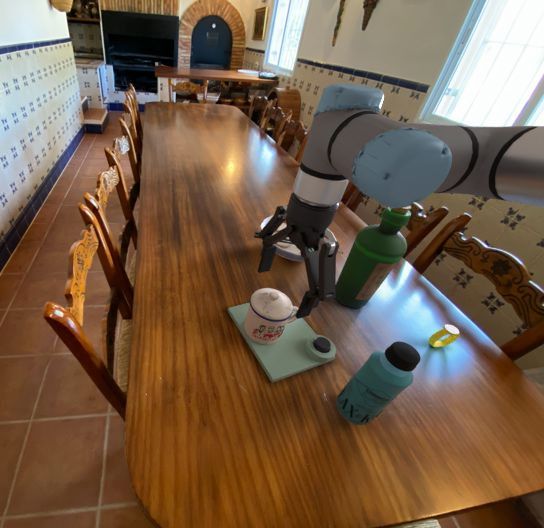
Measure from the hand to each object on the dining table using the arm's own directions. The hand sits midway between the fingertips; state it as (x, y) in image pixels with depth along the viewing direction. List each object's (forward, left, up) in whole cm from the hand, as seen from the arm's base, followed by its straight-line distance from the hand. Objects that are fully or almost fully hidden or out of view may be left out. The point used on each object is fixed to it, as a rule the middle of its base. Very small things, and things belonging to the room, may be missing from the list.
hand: (281, 291), depth 61 cm
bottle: (+3, -28, -14) cm, 31 cm away
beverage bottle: (-21, -5, -14) cm, 26 cm away
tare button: (-9, -8, -11) cm, 16 cm away
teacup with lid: (0, 0, -12) cm, 12 cm away
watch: (-16, -37, -14) cm, 43 cm away
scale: (-1, -2, -13) cm, 14 cm away
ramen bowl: (+25, -25, -14) cm, 38 cm away
